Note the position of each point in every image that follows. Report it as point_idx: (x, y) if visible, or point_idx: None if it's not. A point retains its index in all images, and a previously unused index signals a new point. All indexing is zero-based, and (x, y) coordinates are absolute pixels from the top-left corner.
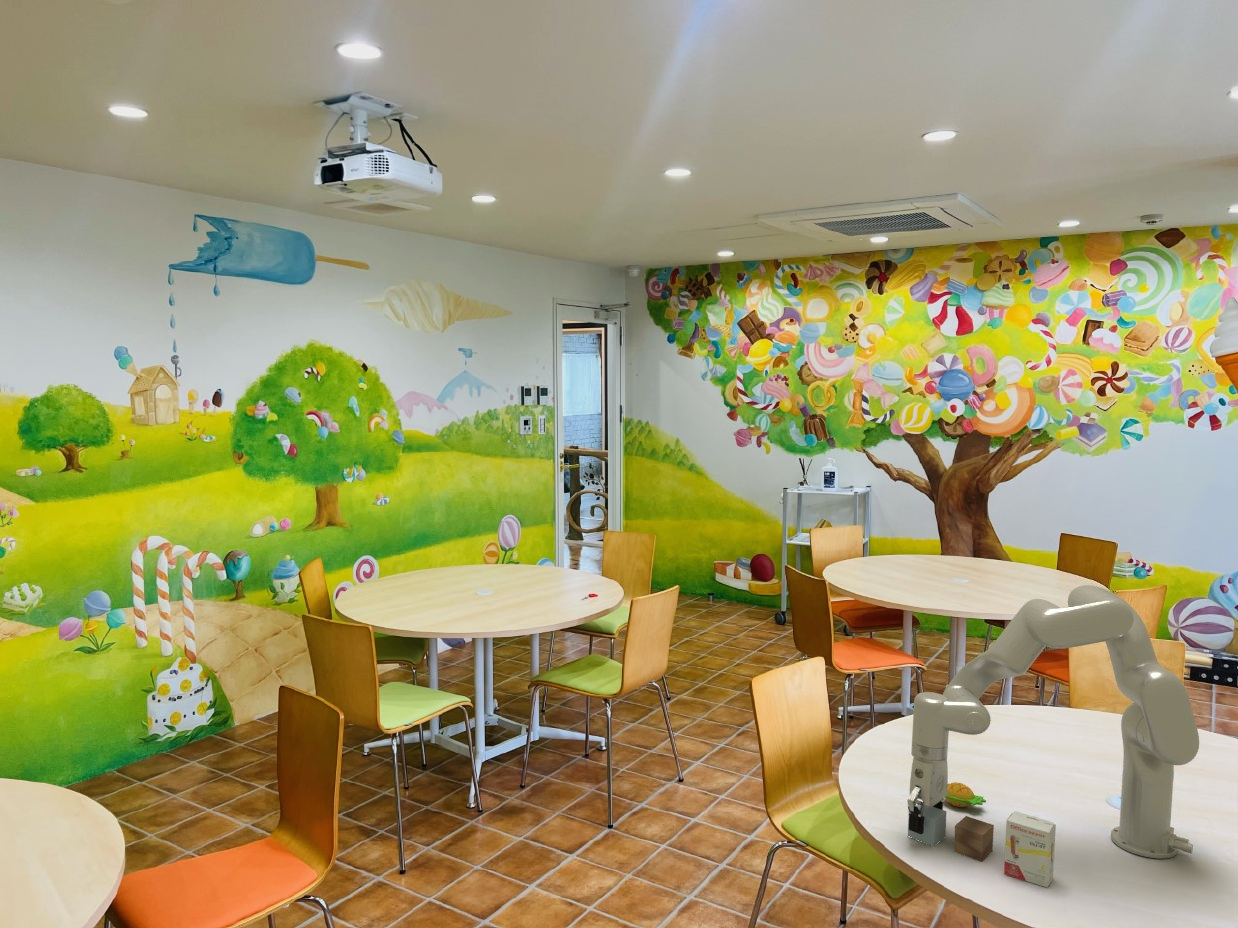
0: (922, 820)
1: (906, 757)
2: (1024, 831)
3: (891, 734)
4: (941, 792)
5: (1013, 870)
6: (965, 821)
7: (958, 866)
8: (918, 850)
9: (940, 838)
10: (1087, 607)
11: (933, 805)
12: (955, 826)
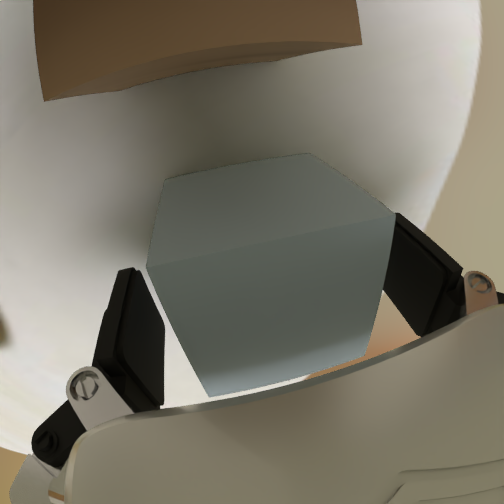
0: (446, 257)
1: (11, 429)
2: None
3: (11, 446)
4: (331, 499)
5: None
6: (178, 6)
7: (382, 4)
8: (383, 179)
9: (233, 169)
10: None
11: (485, 313)
12: (354, 40)
